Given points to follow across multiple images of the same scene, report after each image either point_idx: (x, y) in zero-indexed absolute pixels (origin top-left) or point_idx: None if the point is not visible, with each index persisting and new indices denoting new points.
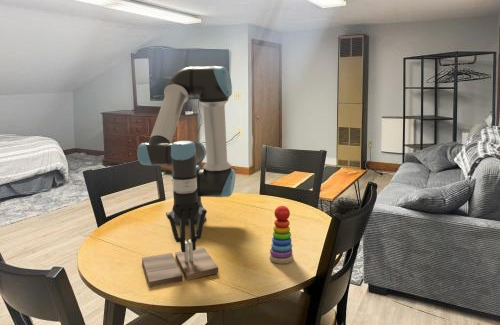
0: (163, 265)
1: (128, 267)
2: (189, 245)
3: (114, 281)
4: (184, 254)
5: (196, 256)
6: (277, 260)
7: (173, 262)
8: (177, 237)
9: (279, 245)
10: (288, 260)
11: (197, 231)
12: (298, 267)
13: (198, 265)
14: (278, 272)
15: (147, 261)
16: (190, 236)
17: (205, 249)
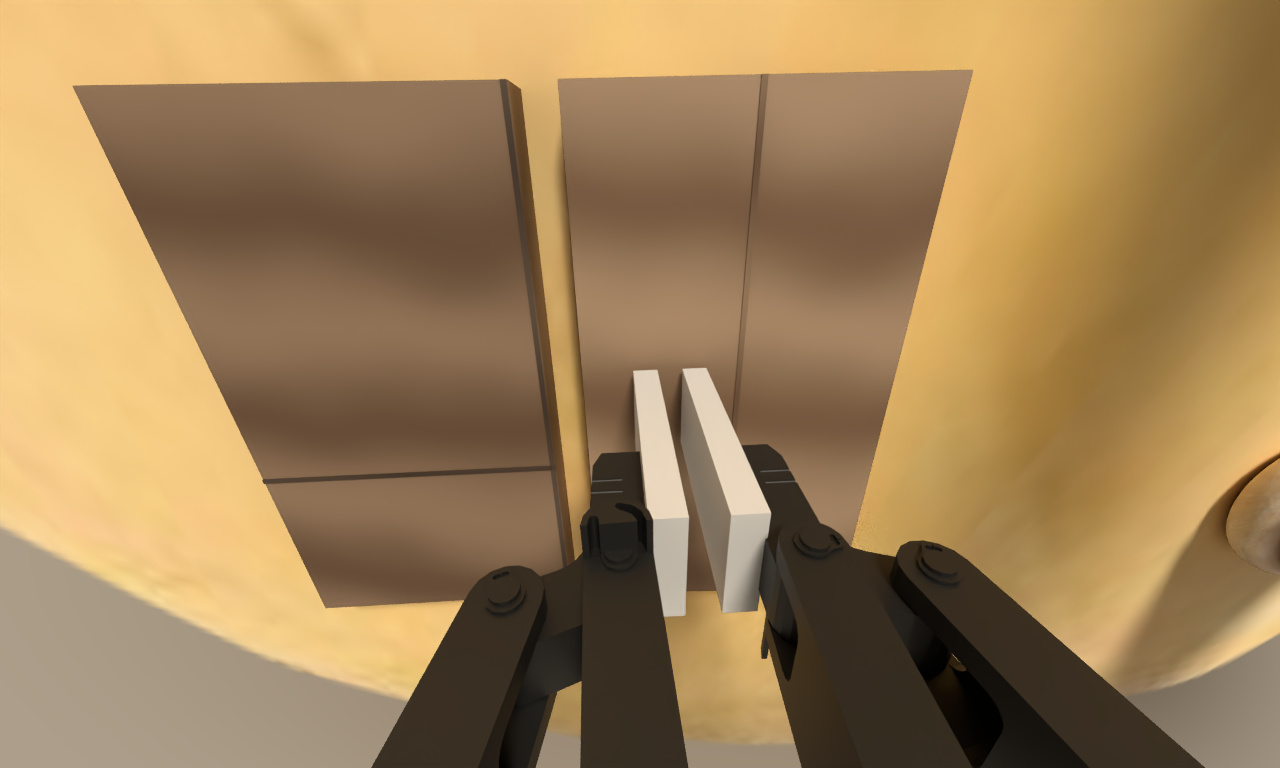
0: (414, 405)
1: (4, 169)
2: (712, 527)
3: (8, 427)
4: (636, 409)
5: (767, 343)
6: (1250, 560)
7: (516, 376)
8: (512, 756)
9: None
10: None
11: (985, 663)
12: (1261, 595)
13: None
14: (1125, 612)
15: (203, 245)
16: (786, 595)
17: (936, 208)
